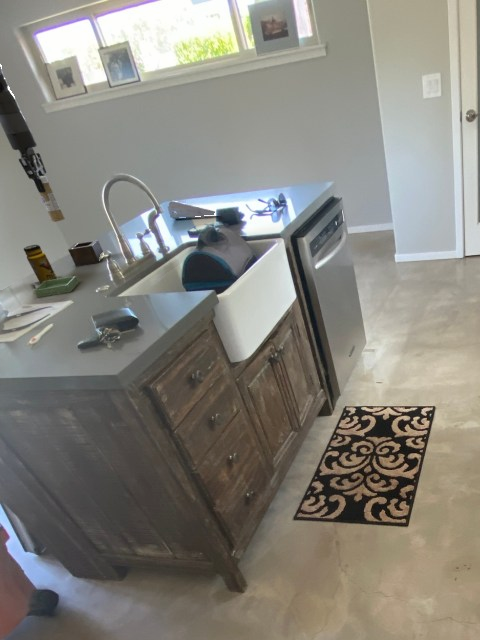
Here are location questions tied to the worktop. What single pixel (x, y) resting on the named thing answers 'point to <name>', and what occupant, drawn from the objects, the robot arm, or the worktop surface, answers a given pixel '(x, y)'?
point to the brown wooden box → (86, 252)
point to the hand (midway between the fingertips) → (45, 190)
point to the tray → (56, 286)
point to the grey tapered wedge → (187, 211)
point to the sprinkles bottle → (51, 201)
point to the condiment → (39, 264)
